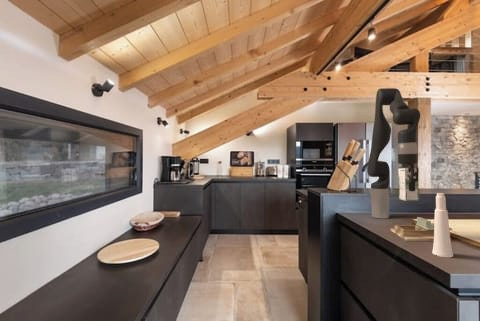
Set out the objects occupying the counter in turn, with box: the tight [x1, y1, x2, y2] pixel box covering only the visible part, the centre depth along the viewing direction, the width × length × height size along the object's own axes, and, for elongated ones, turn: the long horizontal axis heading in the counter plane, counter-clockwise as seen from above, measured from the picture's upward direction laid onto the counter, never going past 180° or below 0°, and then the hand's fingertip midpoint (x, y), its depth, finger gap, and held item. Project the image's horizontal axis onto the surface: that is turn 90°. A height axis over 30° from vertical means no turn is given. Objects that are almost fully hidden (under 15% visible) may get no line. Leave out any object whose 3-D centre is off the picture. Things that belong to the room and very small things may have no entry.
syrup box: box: [397, 167, 420, 202], centre depth 118 cm, size 6×6×14 cm
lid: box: [415, 216, 453, 231], centre depth 116 cm, size 10×10×4 cm
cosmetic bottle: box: [431, 192, 454, 258], centre depth 94 cm, size 6×6×22 cm
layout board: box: [389, 224, 452, 242], centre depth 117 cm, size 17×17×4 cm
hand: (408, 190), depth 118 cm, fingers closed on syrup box, 6 cm apart
